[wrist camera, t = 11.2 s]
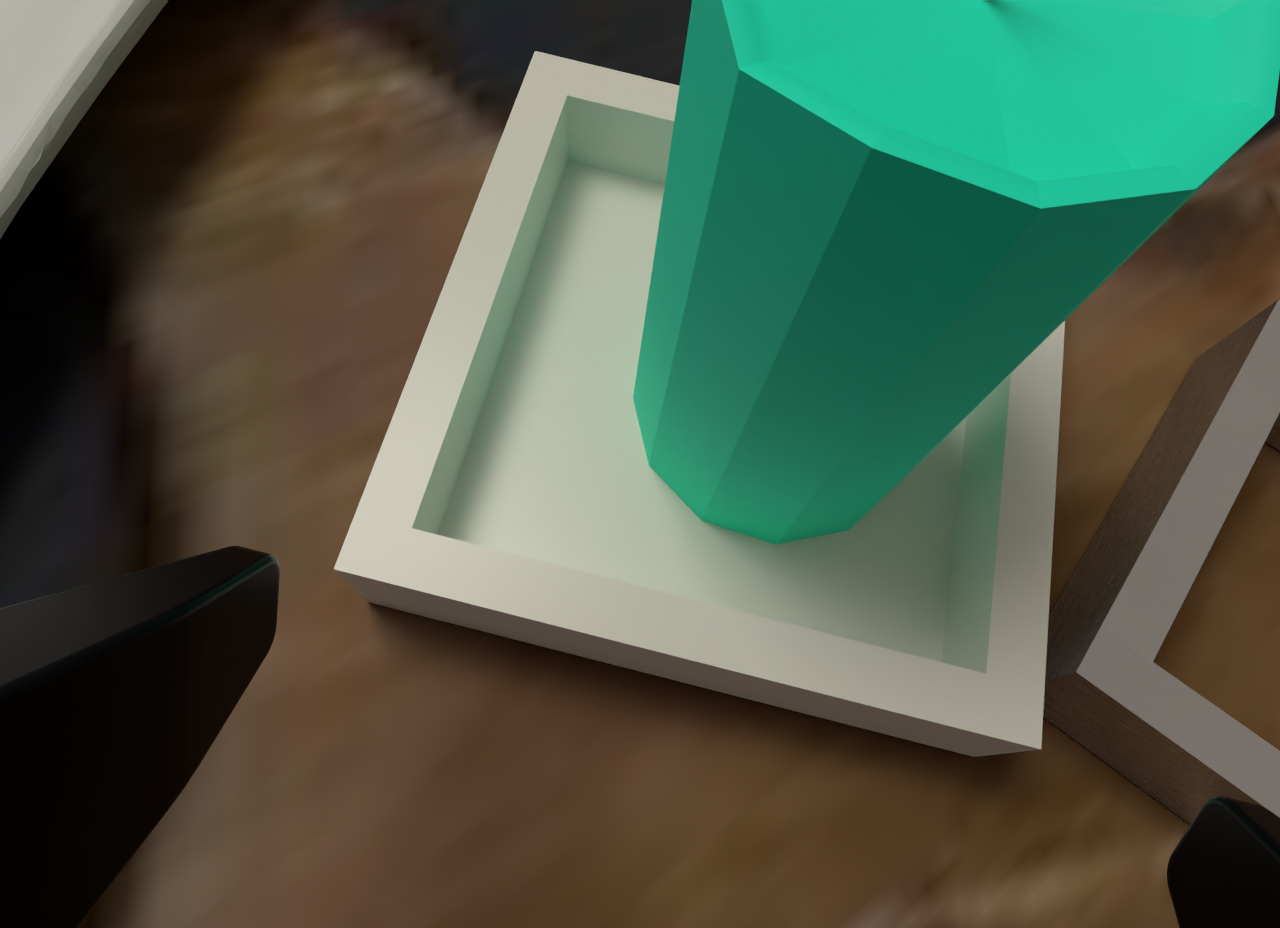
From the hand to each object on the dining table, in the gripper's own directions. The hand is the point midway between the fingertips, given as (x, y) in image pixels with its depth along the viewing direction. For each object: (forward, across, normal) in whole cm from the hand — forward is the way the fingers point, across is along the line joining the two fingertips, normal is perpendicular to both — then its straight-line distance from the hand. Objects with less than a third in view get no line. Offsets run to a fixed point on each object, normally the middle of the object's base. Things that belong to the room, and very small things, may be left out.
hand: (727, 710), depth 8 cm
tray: (+11, 0, 0) cm, 11 cm away
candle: (+11, -1, 0) cm, 11 cm away
